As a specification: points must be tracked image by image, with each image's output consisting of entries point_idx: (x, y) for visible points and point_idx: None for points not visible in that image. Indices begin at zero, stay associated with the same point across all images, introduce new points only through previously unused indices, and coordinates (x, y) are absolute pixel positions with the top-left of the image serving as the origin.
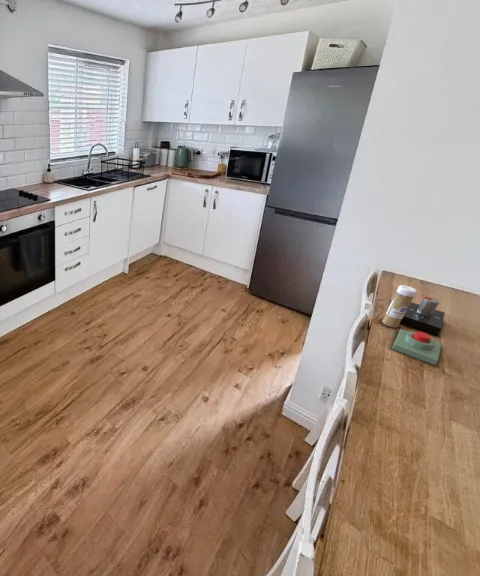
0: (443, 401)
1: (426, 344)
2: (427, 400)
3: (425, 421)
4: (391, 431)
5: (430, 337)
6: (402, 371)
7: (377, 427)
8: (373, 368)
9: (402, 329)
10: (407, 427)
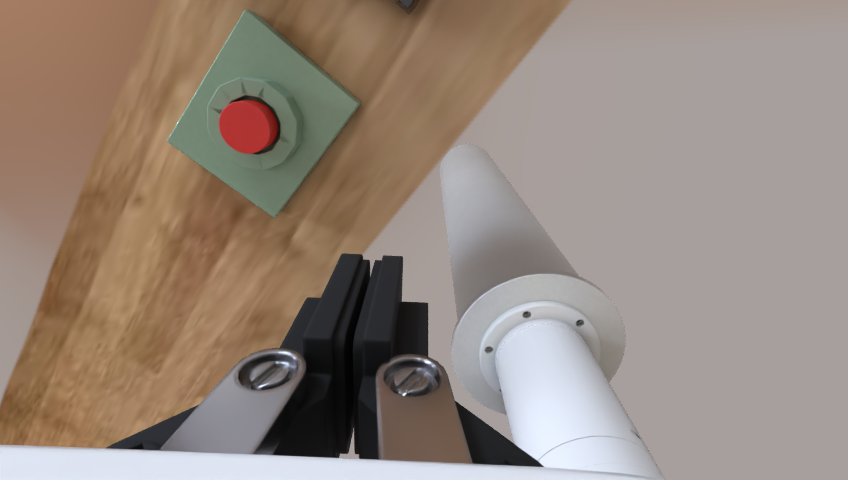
0: (215, 348)
1: (251, 165)
2: (177, 349)
3: (142, 403)
4: (61, 430)
5: (263, 145)
6: (163, 252)
7: (37, 425)
8: (81, 248)
9: (249, 15)
10: (97, 420)
